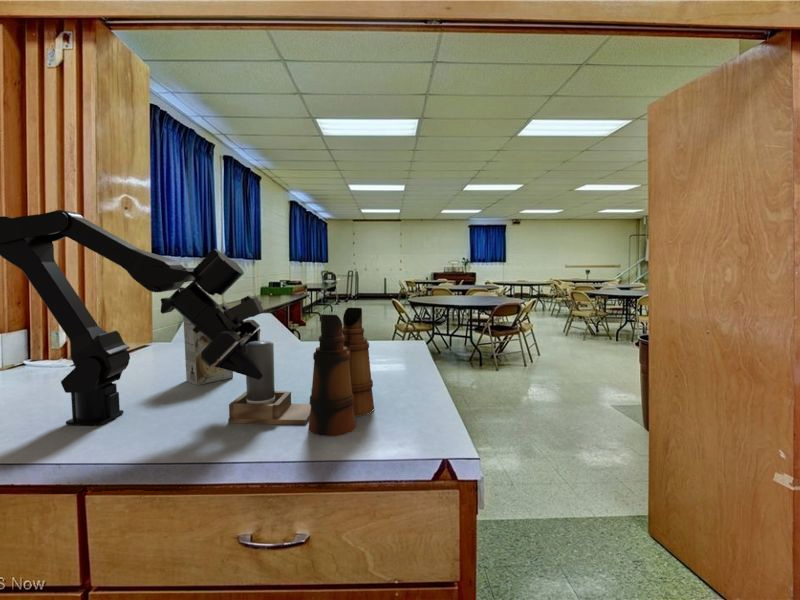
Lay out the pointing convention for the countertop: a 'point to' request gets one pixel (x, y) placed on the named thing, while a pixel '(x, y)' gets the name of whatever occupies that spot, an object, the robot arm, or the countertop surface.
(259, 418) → the brown square-cornered frame
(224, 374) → the coffee box
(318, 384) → the binoculars
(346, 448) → the countertop surface
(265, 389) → the grey round-topped cylinder
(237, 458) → the countertop surface
